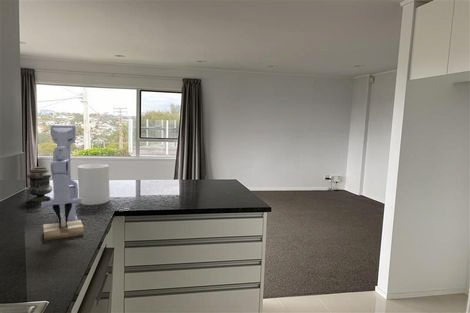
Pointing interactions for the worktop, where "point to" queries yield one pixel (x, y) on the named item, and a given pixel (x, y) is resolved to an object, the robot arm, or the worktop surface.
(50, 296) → the worktop surface
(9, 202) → the worktop surface
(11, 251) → the worktop surface
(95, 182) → the canister
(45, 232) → the slotted tan block
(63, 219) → the silver rectangular block
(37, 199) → the apothecary jar
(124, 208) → the white patterned panel
